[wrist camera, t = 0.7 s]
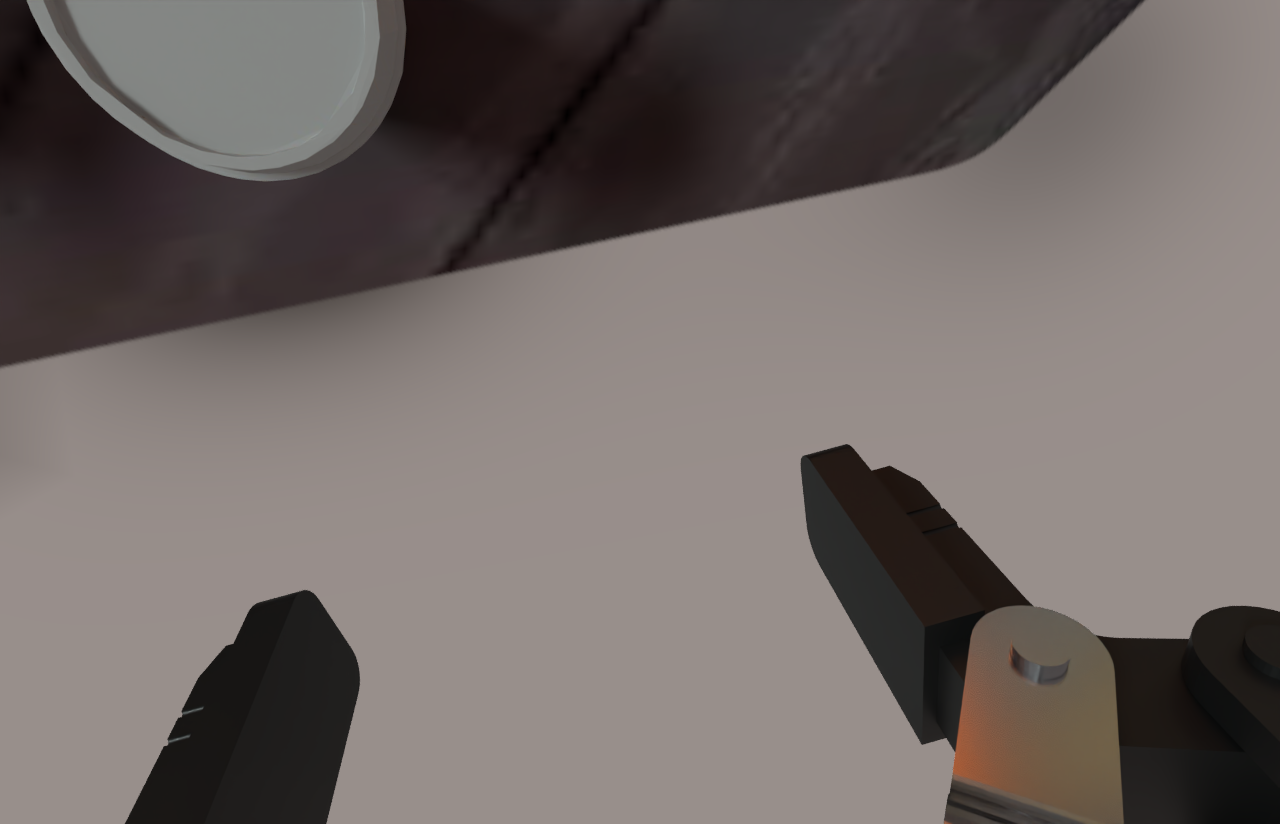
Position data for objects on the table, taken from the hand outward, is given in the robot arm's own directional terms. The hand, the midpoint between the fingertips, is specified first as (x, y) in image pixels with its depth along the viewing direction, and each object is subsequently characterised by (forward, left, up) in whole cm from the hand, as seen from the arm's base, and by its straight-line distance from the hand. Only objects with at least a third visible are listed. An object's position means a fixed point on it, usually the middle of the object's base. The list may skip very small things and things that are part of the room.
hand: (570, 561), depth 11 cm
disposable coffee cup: (-10, -6, -26) cm, 28 cm away
